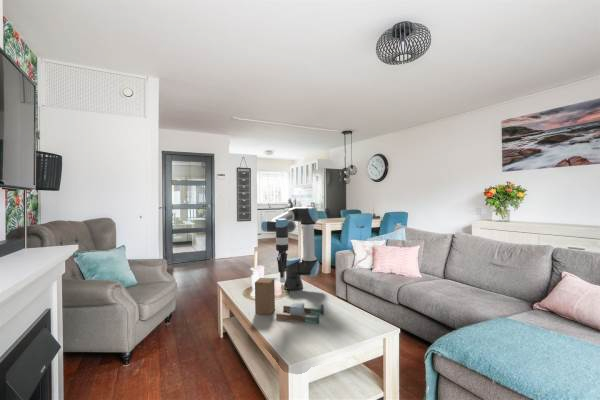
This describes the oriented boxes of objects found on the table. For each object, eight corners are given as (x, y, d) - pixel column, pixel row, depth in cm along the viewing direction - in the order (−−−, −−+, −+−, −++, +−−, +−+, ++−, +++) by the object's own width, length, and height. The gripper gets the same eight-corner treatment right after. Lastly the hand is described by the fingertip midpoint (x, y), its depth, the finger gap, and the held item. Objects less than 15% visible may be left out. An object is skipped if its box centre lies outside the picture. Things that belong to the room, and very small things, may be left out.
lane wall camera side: (277, 318, 170) (276, 308, 170) (319, 322, 163) (319, 312, 163) (276, 319, 169) (276, 309, 169) (318, 324, 161) (318, 313, 161)
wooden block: (270, 315, 175) (269, 282, 174) (255, 314, 177) (254, 282, 176) (275, 308, 184) (274, 278, 184) (260, 307, 186) (259, 277, 186)
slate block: (293, 313, 177) (293, 302, 177) (304, 314, 175) (304, 303, 174) (290, 318, 170) (289, 306, 170) (301, 319, 168) (301, 307, 168)
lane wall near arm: (284, 310, 182) (284, 300, 182) (323, 314, 175) (323, 304, 174) (283, 310, 181) (283, 301, 181) (323, 315, 173) (323, 305, 173)
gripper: (280, 242, 181) (280, 278, 182) (272, 245, 169) (273, 284, 169) (291, 242, 179) (291, 279, 179) (284, 245, 167) (284, 285, 167)
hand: (282, 282), depth 174 cm, fingers closed
